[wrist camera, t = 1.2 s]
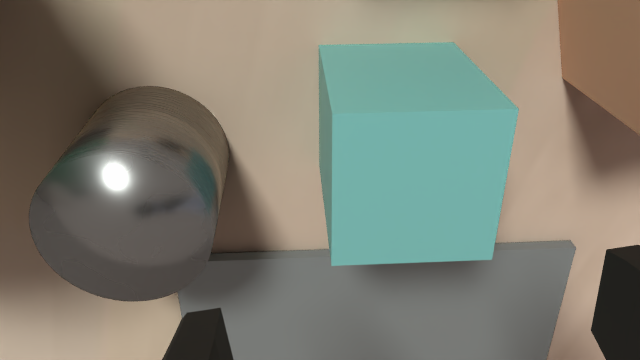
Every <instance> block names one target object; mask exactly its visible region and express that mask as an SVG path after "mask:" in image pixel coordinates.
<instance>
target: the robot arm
mask: <svg viewBox="0 0 640 360" xmlns="http://www.w3.org/2000/svg"><path fill="white" fill-rule="evenodd" d="M591 331H592V333H593V335H594V337H595V339H596V341H597V343H598V345H599V347H600V349H601V351H602V353H603V355H604V357H605V359H606V360H640V245H634V246H627V247H621V248H614V249H607V250H606V255H605V260H604V265H603V270H602V276H601V281H600V286H599V291H598V296H597V302H596V307H595V312H594V317H593V322H592V327H591ZM162 360H234V359H233V355H232V351H231V347H230V343H229V339H228V335H227V331H226V327H225V323H224V319H223V315H222V311H221V308H215V309H208V310H201V311H195V312H188V313H186V314H185V316H184V317H183V318H182V320H181V322H180V324H179V326H178V328H177V331H176V333H175V335H174V337H173V339H172V341H171V343H170V345H169V347H168V349H167V351H166V353H165V355H164V357H163V359H162Z"/></svg>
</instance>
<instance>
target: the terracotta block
mask: <svg viewBox="0 0 640 360" xmlns="http://www.w3.org/2000/svg"><path fill="white" fill-rule="evenodd" d="M558 15H559V32H560V49H561V65H562V78H564V79H565V80H566V81H568V82H569V83H570V84H572V85H573V86H574V87H576V88H577V89H578V90H580V91H581V92H582V93H584V94H585V95H586V96H588V97H589V98H590V99H592V100H593V101H594V102H596V103H597V104H598V105H600V106H601V107H602V108H604V109H605V110H606V111H608V112H609V113H610V114H612V115H613V116H614V117H616V118H617V119H618V120H620V121H621V122H622V123H624V124H625V125H626V126H628V127H629V128H630V129H632V130H633V131H634V132H636V133H637V134H638V135H640V0H558Z"/></svg>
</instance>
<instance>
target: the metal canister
mask: <svg viewBox="0 0 640 360" xmlns="http://www.w3.org/2000/svg"><path fill="white" fill-rule="evenodd" d="M228 163H229V149H228V143H227V140H226V136H225V134H224V132H223V129H222V127H221V126H220V124H219V123H218V121H217V120H216V118H215V117H214V116H213V115H212V113H211V112H210V111H209V110H208V109H206V108H205V107H204V106H203V105H202V104H200V103H199V102H198V101H196V100H195V99H193V98H191V97H190V96H188V95H186V94H183V93H181V92H179V91H176V90H172V89H169V88H163V87H155V86H144V87H136V88H131V89H127V90H124V91H121V92H119V93H117V94H115V95H113V96H112V97H110V98H109V99H108V100H106V101H105V102H104V103H103V104H102V105H101V106H100V107H99V108H98V109H97V111H96V112H95V113H94V114H93V116H92V117H91V118H90V120H89V121H88V122H87V124H86V125H85V126H84V128H83V129H82V130H81V131H80V133H79V134H78V135H77V137H76V138H75V139H74V141H73V142H72V143H71V144H70V146H69V147H68V148H67V150H66V151H65V152H64V154H63V155H62V156H61V158H60V159H59V160H58V161H57V163H56V164H55V165H54V167H53V168H52V169H51V171H50V172H49V173H48V175H47V176H46V177H45V178H44V180H43V181H42V182H41V184H40V185H39V186H38V188H37V190H36V192H35V194H34V196H33V198H32V201H31V205H30V211H29V226H30V230H31V235H32V238H33V240H34V243H35V245H36V247H37V249H38V251H39V253H40V254H41V256H42V257H43V258H44V260H45V261H46V262H47V264H48V265H49V266H50V267H51V268H52V269H53V270H54V271H55V272H56V273H58V274H59V275H60V276H61V277H62V278H64V279H65V280H67V281H68V282H70V283H71V284H73V285H75V286H76V287H78V288H80V289H82V290H84V291H87V292H89V293H91V294H94V295H97V296H100V297H104V298H108V299H113V300H120V301H147V300H153V299H158V298H162V297H165V296H168V295H170V294H173V293H175V292H177V291H179V290H181V289H183V288H184V287H186V286H187V285H188V284H190V283H191V282H192V281H193V280H194V279H195V278H196V277H197V276H198V275H199V274H200V273H201V271H202V270H203V269H204V267H205V265H206V264H207V262H208V260H209V257H210V254H211V250H212V245H213V240H214V235H215V230H216V225H217V220H218V215H219V210H220V205H221V200H222V195H223V190H224V185H225V180H226V175H227V169H228Z"/></svg>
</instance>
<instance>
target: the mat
mask: <svg viewBox="0 0 640 360" xmlns="http://www.w3.org/2000/svg"><path fill="white" fill-rule="evenodd" d="M575 250H576V247H575V246H574V244H573V243H572V242H571V240H570V241H543V242H515V243H495V245H494V251H493V257H492V260H471V261H445V262H419V263H393V264H367V265H342V266H331V258H330V250H329V249H324V250H296V251H269V252H241V253H214V254H210V257H209V260H208V262H207V264H206V265H205V267H204V269H203V270H202V271H201V273H200V274H199V275H198V276H197V277H196V278H195V279H194V280H193V281H192V282H191V283H190V284H188V285H187V286H186V287H184V288H183V289H181V290H179V291H178V297H179V303H180V309H181V315H182V318H183V317H184V316H185V314H186V313H188V312H195V311H201V310H208V309H215V308H221V311H222V315H223V319H224V323H225V327H226V331H227V335H228V339H229V343H230V347H231V351H232V355H233V359H234V360H546V359H547V356H548V352H549V348H550V344H551V340H552V337H553V333H554V329H555V325H556V322H557V318H558V314H559V310H560V306H561V303H562V299H563V295H564V291H565V288H566V284H567V280H568V276H569V272H570V269H571V265H572V261H573V257H574V254H575Z"/></svg>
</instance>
